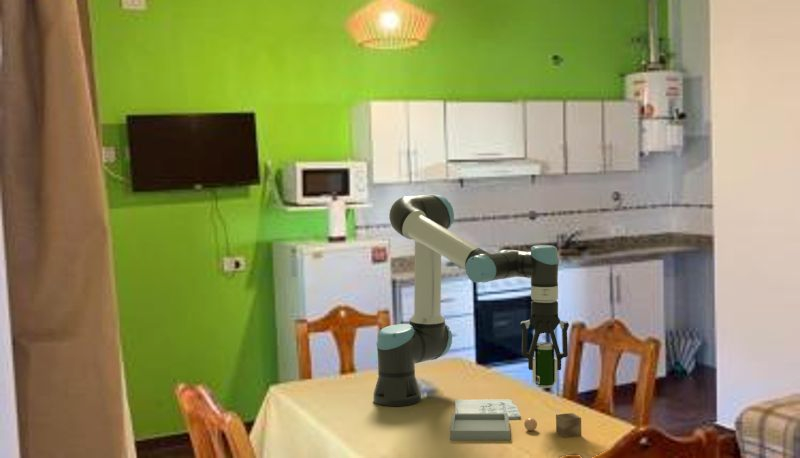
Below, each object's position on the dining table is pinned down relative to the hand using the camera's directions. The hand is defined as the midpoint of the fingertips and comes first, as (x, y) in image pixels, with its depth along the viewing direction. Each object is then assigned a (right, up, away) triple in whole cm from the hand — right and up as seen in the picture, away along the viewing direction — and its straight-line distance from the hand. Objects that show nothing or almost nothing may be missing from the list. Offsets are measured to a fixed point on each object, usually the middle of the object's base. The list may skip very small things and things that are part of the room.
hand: (544, 380), depth 234 cm
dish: (-19, -13, -6) cm, 24 cm away
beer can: (0, -2, 0) cm, 2 cm away
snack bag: (-15, -12, +14) cm, 24 cm away
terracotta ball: (-5, -11, -7) cm, 14 cm away
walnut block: (+5, -13, -11) cm, 17 cm away
